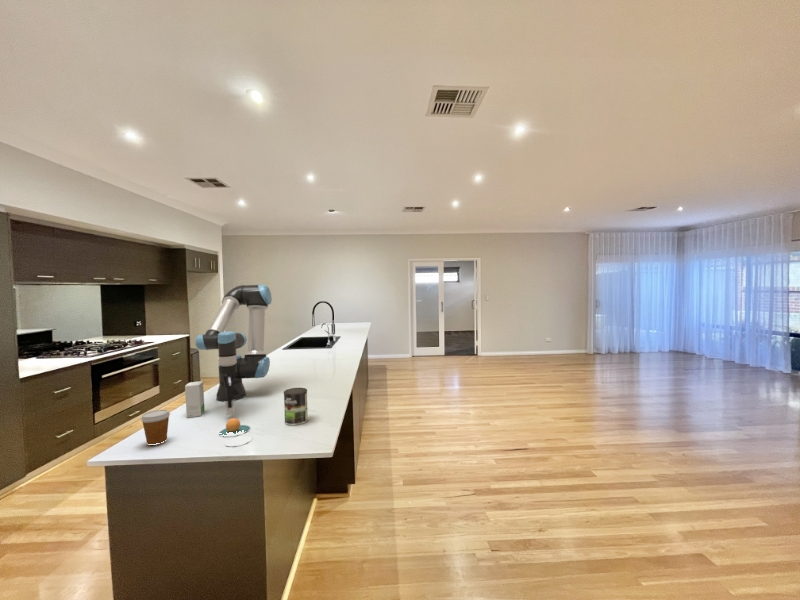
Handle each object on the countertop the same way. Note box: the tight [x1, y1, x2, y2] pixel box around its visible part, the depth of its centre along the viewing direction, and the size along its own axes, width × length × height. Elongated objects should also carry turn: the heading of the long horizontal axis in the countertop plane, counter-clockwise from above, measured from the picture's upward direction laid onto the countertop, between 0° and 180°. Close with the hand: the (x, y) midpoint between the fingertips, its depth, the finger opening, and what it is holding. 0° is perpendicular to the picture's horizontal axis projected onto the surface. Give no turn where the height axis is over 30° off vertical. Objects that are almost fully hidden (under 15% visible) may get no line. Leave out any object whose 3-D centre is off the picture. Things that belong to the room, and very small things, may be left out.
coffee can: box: [283, 387, 309, 426], centre depth 155 cm, size 10×10×14 cm
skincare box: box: [184, 380, 206, 419], centre depth 167 cm, size 8×7×16 cm
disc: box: [218, 424, 251, 438], centre depth 146 cm, size 12×12×1 cm
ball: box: [225, 417, 241, 432], centre depth 146 cm, size 6×6×6 cm
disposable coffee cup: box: [140, 409, 171, 444], centre depth 136 cm, size 10×10×12 cm
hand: (229, 413), depth 162 cm, fingers closed
